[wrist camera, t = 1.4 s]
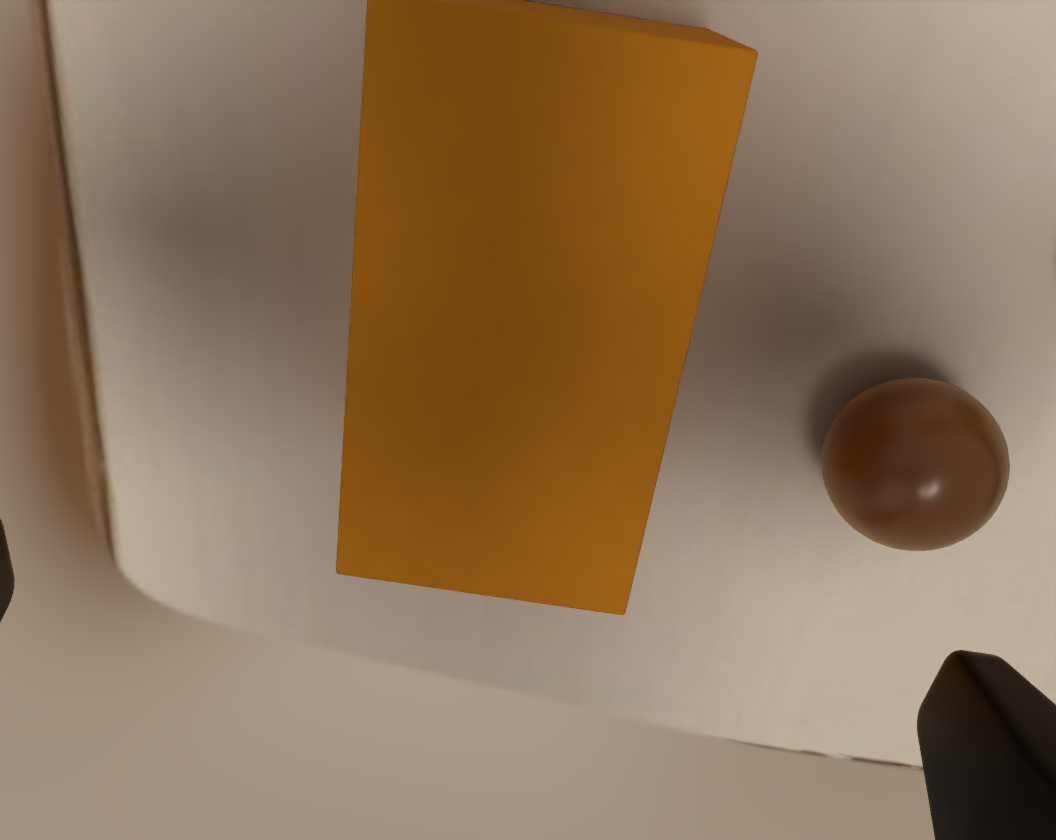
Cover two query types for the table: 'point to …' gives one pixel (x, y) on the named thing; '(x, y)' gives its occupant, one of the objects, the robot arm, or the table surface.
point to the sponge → (525, 288)
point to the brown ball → (915, 464)
